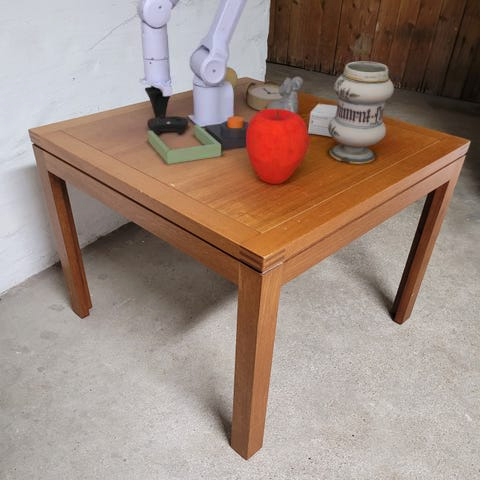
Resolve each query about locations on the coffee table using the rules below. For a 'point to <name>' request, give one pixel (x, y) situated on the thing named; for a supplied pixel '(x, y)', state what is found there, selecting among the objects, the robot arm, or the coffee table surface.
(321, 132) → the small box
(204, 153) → the dock
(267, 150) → the apple
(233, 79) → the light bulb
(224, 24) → the robot arm
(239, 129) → the push button box
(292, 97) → the figurine
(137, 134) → the coffee table surface
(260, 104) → the alarm clock
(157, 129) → the game controller
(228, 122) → the button
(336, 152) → the apothecary jar
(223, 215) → the coffee table surface
